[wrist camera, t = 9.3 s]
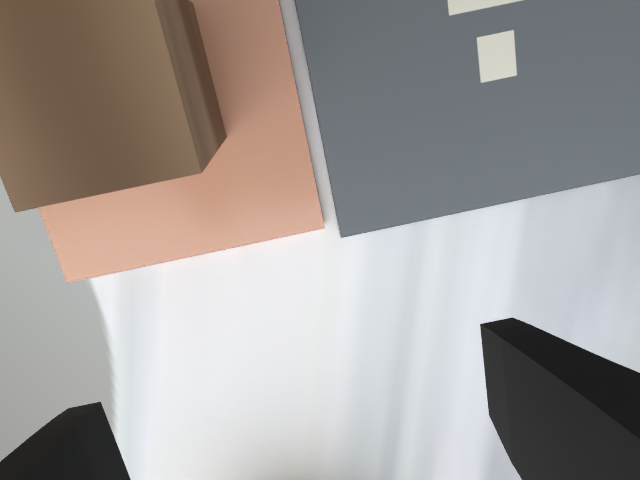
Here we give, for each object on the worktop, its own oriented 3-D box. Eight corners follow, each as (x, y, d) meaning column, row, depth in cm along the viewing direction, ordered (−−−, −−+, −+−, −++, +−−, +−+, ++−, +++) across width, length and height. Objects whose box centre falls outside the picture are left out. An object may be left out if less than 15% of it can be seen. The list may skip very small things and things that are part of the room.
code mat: (680, -249, 15) (686, -254, 14) (670, 166, 19) (674, 166, 18) (263, -165, 14) (262, -168, 14) (340, 236, 18) (341, 237, 18)
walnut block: (193, 3, 15) (144, -35, 10) (226, 137, 17) (201, 173, 11) (60, 30, 15) (-67, 8, 10) (104, 162, 17) (14, 212, 11)
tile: (249, -141, 15) (249, -145, 14) (324, 225, 18) (324, 228, 18) (-67, -77, 15) (-74, -80, 14) (70, 279, 18) (66, 283, 18)
